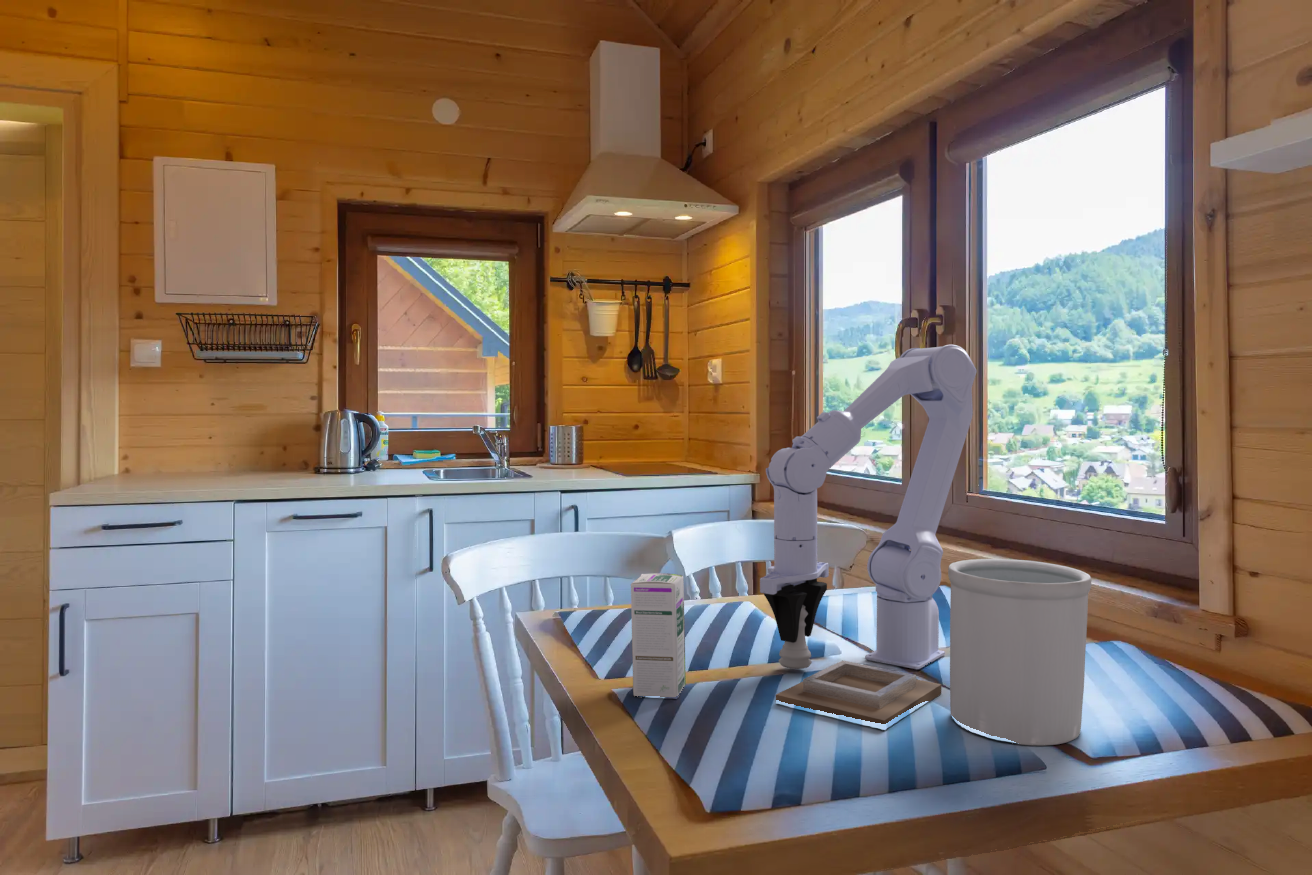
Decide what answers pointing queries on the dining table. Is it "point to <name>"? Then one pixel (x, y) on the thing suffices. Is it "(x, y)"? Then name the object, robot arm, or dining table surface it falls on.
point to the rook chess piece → (796, 648)
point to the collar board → (860, 692)
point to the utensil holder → (1018, 648)
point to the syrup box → (658, 635)
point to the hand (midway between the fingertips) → (795, 638)
